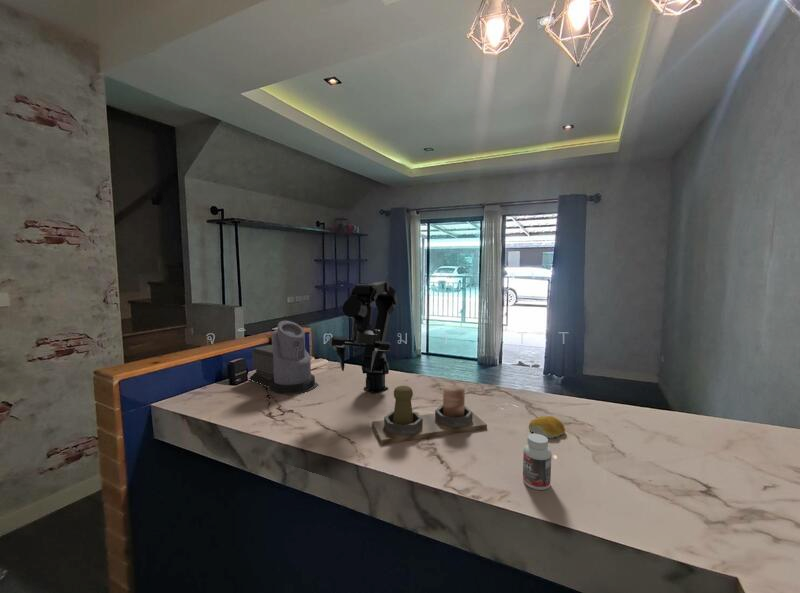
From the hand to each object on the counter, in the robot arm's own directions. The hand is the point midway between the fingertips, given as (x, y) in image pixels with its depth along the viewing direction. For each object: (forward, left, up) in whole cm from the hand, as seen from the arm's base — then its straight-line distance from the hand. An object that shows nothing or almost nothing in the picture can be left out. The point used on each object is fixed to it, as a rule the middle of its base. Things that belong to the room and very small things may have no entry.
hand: (357, 371), depth 112 cm
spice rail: (-6, +24, -12) cm, 28 cm away
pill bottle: (-2, +57, -12) cm, 58 cm away
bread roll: (-27, +48, -12) cm, 57 cm away
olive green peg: (0, +20, -11) cm, 23 cm away
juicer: (+5, -39, -12) cm, 41 cm away
